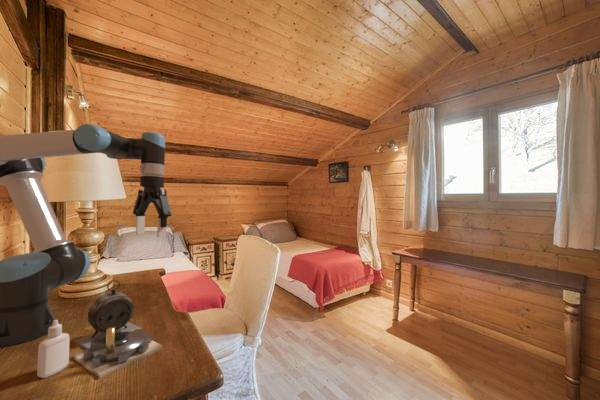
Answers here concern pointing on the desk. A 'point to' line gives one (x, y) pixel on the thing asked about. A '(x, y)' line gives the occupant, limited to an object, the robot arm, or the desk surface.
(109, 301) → the alarm clock
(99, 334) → the pad
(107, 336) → the sprocket
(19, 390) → the desk surface
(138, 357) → the plate
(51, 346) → the eye dropper bottle
